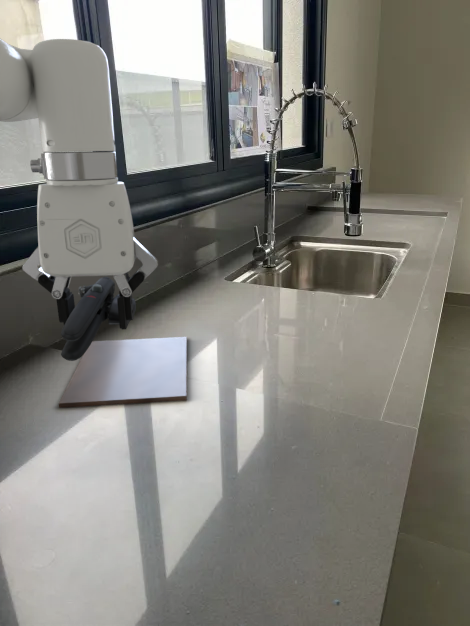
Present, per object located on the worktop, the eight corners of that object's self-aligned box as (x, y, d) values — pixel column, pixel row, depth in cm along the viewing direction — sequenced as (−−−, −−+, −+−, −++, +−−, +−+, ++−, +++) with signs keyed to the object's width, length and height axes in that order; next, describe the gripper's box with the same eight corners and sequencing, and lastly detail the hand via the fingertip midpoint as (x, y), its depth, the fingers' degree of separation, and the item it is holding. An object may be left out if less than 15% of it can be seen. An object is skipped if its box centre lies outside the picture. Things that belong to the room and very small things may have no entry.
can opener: (92, 311, 68) (87, 271, 67) (141, 312, 68) (139, 272, 66) (34, 364, 52) (27, 313, 50) (100, 365, 51) (95, 314, 49)
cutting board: (59, 413, 70) (58, 403, 70) (90, 348, 93) (89, 341, 92) (187, 405, 72) (186, 396, 71) (187, 343, 94) (186, 336, 94)
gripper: (-14, 172, 50) (13, 340, 55) (159, 170, 51) (168, 335, 56) (12, 170, 57) (34, 319, 62) (163, 167, 58) (171, 314, 64)
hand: (97, 325), depth 59 cm, fingers closed on can opener, 5 cm apart
